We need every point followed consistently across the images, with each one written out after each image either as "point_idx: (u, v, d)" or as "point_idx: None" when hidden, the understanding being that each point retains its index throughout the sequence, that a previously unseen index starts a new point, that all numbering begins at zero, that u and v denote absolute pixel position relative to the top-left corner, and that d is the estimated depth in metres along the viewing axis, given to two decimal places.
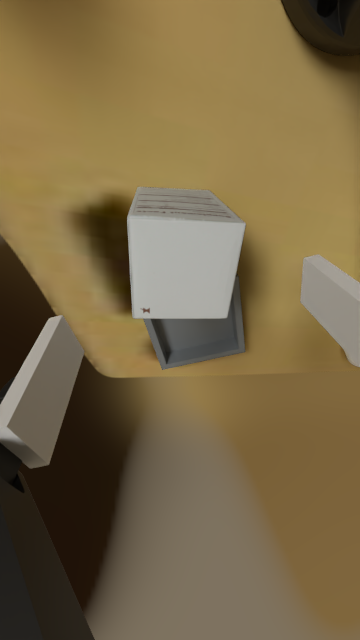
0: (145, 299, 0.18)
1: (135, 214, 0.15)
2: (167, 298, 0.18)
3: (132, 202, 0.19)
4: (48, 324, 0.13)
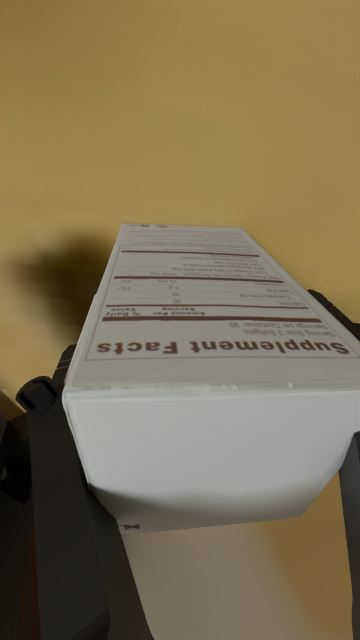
0: (129, 515, 0.08)
1: (87, 381, 0.05)
2: (180, 511, 0.08)
3: (101, 281, 0.09)
4: None
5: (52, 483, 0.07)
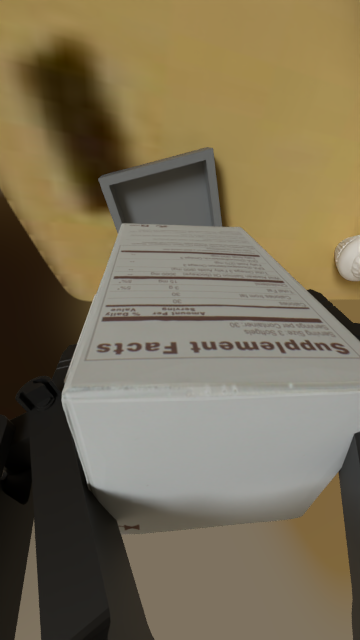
0: (129, 516, 0.08)
1: (87, 381, 0.05)
2: (180, 512, 0.08)
3: (101, 281, 0.09)
4: None
5: (52, 483, 0.07)
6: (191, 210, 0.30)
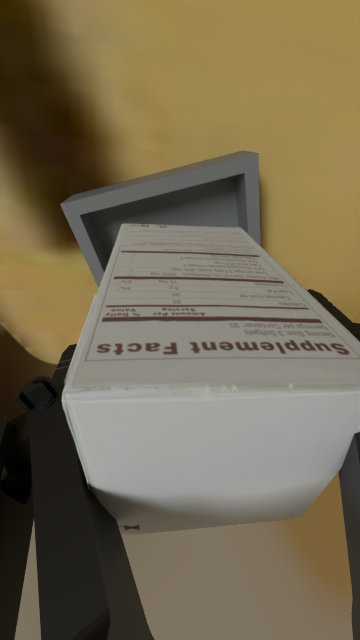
0: (129, 516, 0.08)
1: (87, 381, 0.05)
2: (180, 512, 0.08)
3: (101, 281, 0.09)
4: None
5: (52, 483, 0.07)
6: None
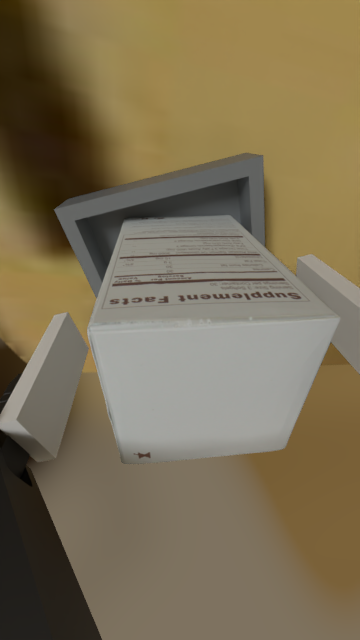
0: (141, 442, 0.10)
1: (104, 319, 0.07)
2: (181, 438, 0.10)
3: None
4: (54, 321, 0.13)
5: None
6: None
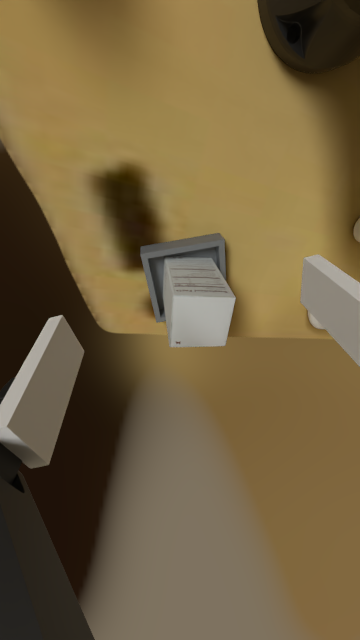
0: (178, 336, 0.31)
1: (176, 294, 0.28)
2: (191, 336, 0.31)
3: (168, 278, 0.32)
4: (48, 324, 0.13)
5: None
6: None
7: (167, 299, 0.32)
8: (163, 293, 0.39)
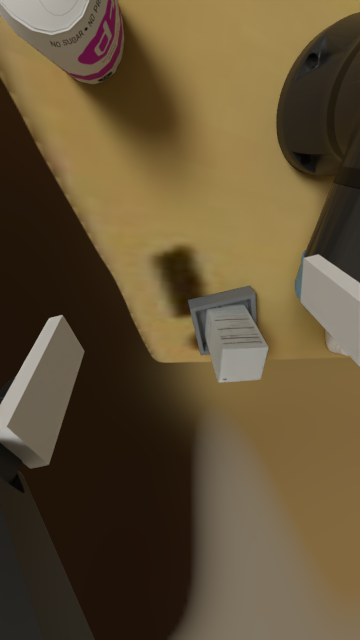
0: (225, 375, 0.41)
1: (224, 347, 0.38)
2: (234, 374, 0.41)
3: (215, 330, 0.42)
4: (48, 324, 0.13)
5: None
6: None
7: (214, 345, 0.43)
8: (206, 334, 0.49)
